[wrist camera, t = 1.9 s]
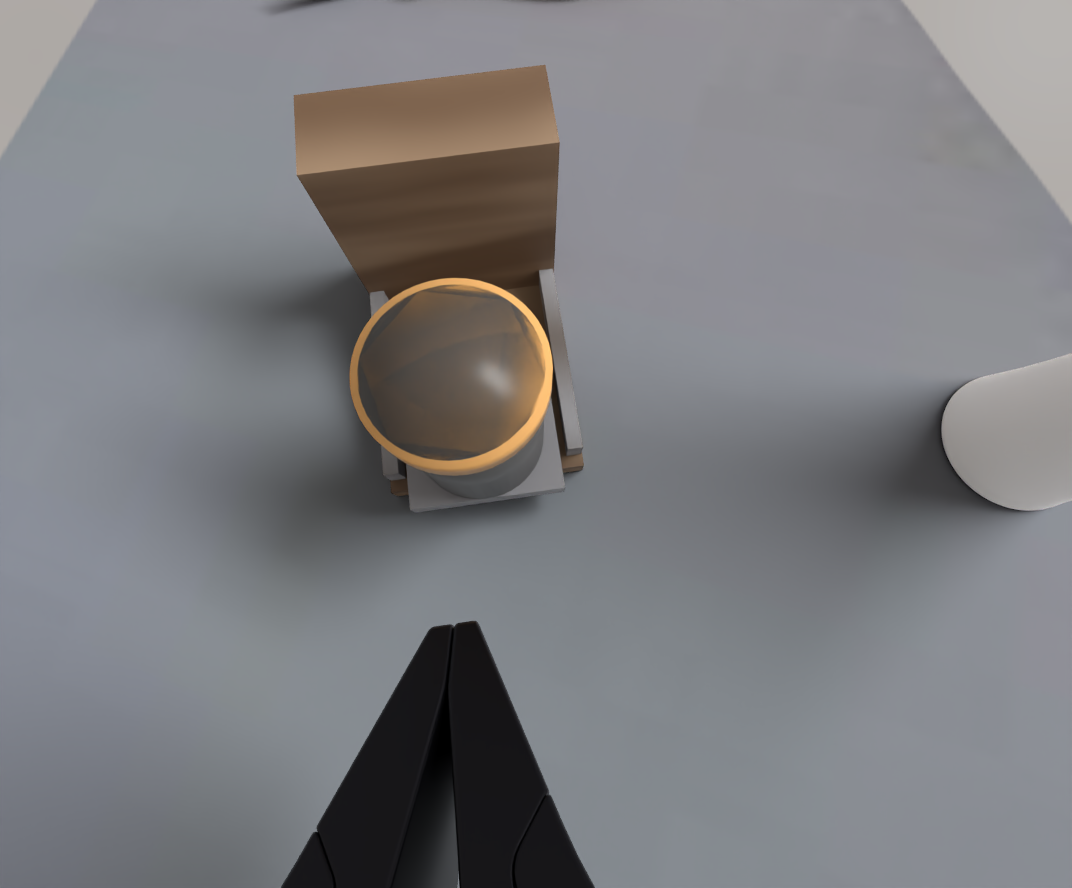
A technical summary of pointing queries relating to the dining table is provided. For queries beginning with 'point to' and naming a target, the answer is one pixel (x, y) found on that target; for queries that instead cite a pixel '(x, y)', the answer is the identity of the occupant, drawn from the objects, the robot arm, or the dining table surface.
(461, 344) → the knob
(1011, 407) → the cosmetic bottle
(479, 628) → the robot arm
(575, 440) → the mount
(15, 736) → the dining table surface
